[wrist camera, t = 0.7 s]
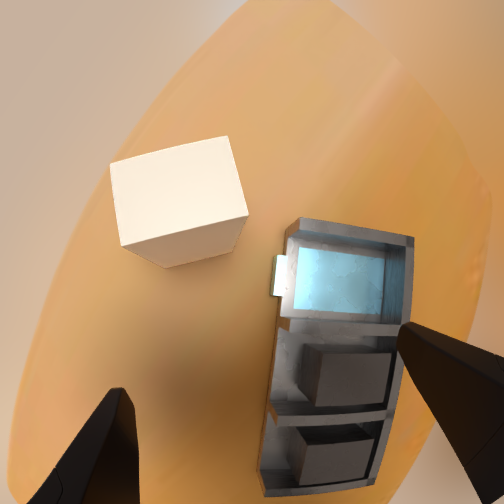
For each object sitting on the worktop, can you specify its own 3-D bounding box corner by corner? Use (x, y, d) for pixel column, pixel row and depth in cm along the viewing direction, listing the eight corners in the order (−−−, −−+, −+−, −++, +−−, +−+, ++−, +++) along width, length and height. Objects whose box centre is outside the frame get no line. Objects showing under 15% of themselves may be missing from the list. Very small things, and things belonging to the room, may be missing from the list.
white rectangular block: (231, 252, 22) (249, 215, 12) (165, 268, 22) (121, 246, 11) (220, 207, 23) (227, 135, 12) (155, 222, 22) (109, 164, 11)
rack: (354, 463, 21) (379, 490, 16) (248, 470, 20) (256, 504, 15) (387, 245, 24) (422, 234, 19) (276, 228, 23) (293, 211, 18)
